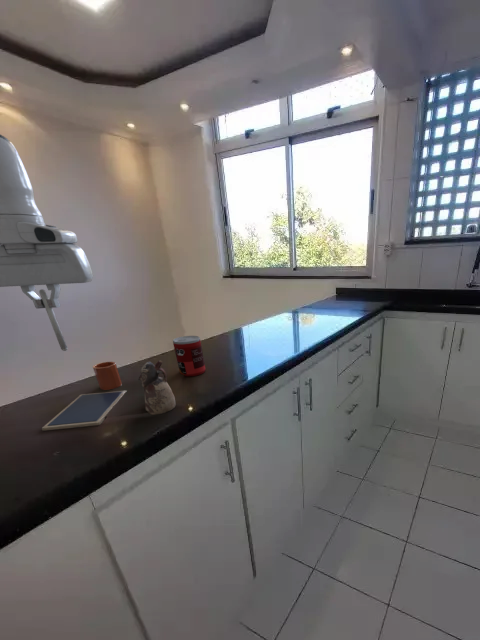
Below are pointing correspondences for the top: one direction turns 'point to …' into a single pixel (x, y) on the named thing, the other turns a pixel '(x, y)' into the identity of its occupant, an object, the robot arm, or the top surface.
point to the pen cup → (107, 375)
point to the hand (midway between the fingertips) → (48, 307)
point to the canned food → (189, 355)
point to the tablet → (85, 411)
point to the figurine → (156, 389)
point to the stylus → (53, 320)
